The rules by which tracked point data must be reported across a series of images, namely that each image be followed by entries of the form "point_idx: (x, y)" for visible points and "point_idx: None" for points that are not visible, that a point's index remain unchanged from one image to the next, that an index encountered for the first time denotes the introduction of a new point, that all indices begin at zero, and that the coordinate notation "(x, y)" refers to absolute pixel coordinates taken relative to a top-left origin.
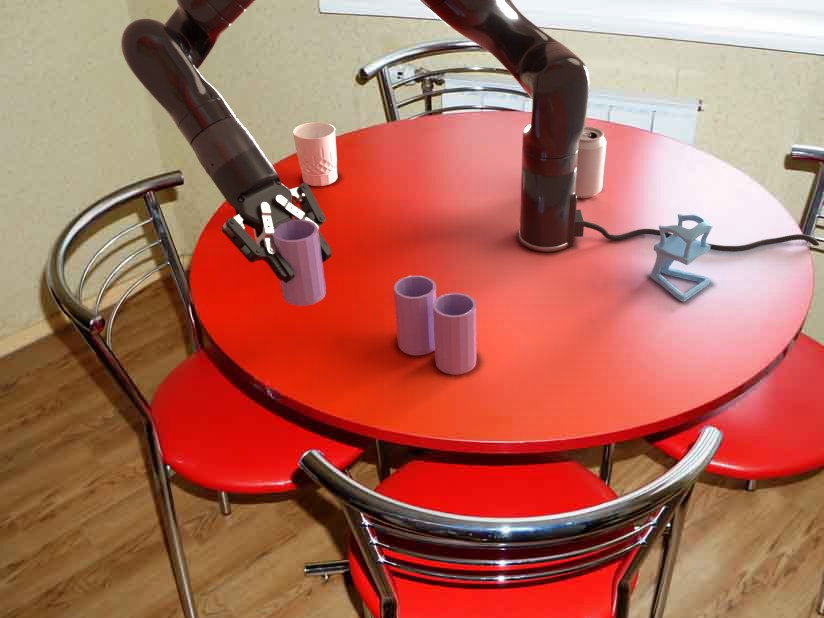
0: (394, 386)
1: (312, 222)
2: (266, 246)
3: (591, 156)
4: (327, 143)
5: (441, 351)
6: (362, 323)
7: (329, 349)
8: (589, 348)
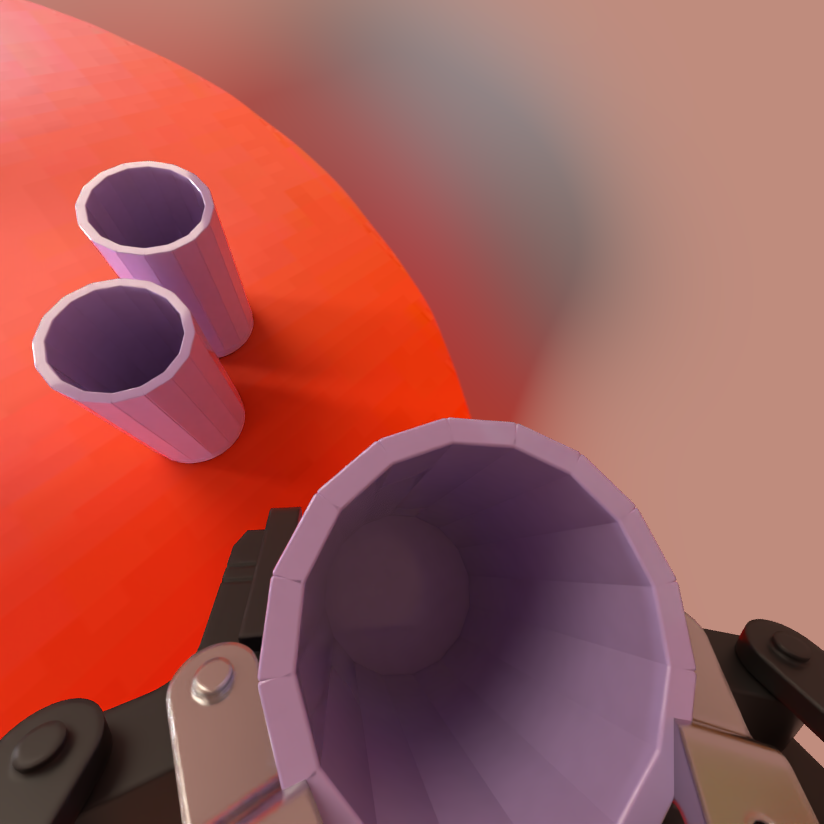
0: (345, 367)
1: (269, 622)
2: (718, 662)
3: None
4: None
5: (242, 293)
6: (201, 586)
7: None
8: (24, 164)
